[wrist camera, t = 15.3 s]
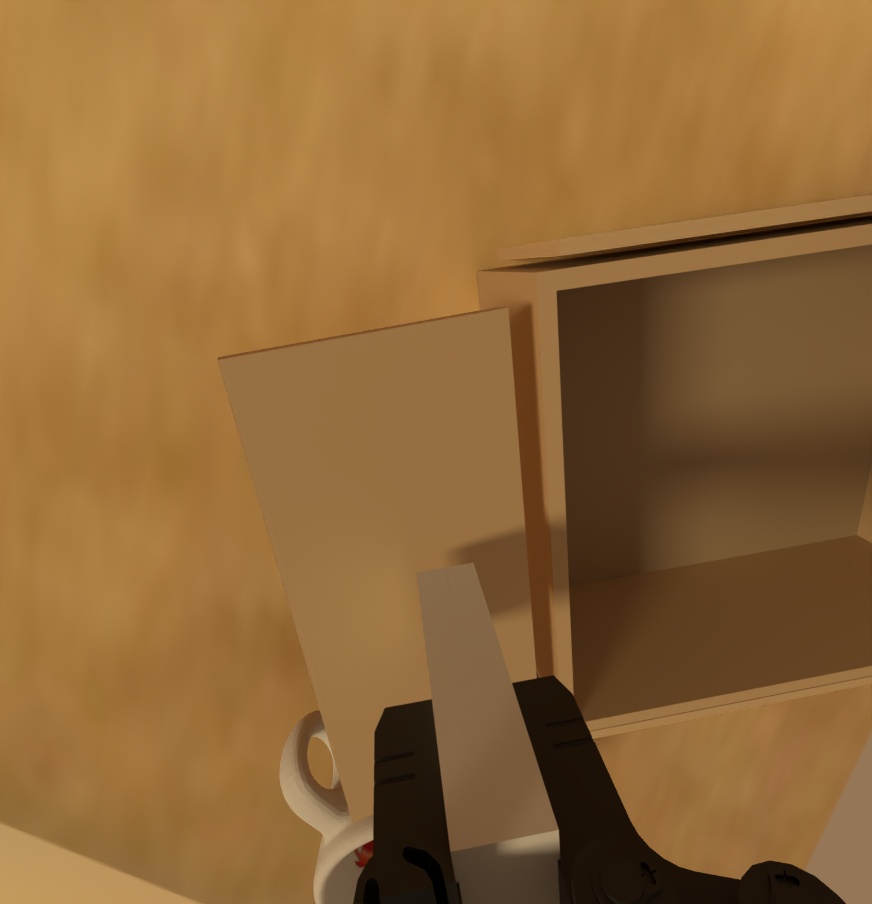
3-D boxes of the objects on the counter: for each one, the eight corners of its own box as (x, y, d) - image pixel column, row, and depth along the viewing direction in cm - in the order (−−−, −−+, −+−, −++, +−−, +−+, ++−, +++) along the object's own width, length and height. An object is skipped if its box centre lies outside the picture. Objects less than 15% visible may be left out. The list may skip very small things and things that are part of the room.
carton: (474, 252, 19) (534, 242, 12) (925, 188, 20) (1238, 142, 13) (509, 610, 26) (562, 750, 18) (853, 547, 27) (1037, 656, 19)
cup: (257, 714, 26) (209, 890, 19) (350, 615, 25) (338, 764, 17) (411, 792, 30) (421, 968, 22) (502, 709, 28) (546, 868, 21)
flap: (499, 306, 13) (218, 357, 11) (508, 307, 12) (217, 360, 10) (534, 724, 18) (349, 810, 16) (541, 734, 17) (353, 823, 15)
